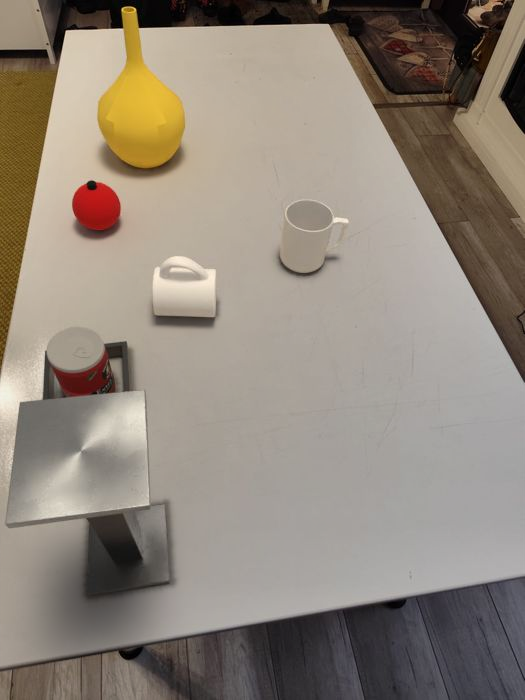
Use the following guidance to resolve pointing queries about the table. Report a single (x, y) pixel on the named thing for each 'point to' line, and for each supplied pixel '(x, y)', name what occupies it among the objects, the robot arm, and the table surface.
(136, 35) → the vase
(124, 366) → the grey square frame
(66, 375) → the canned food
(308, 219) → the mug
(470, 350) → the table surface
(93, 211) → the ornament
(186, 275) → the mug
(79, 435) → the steel stand
